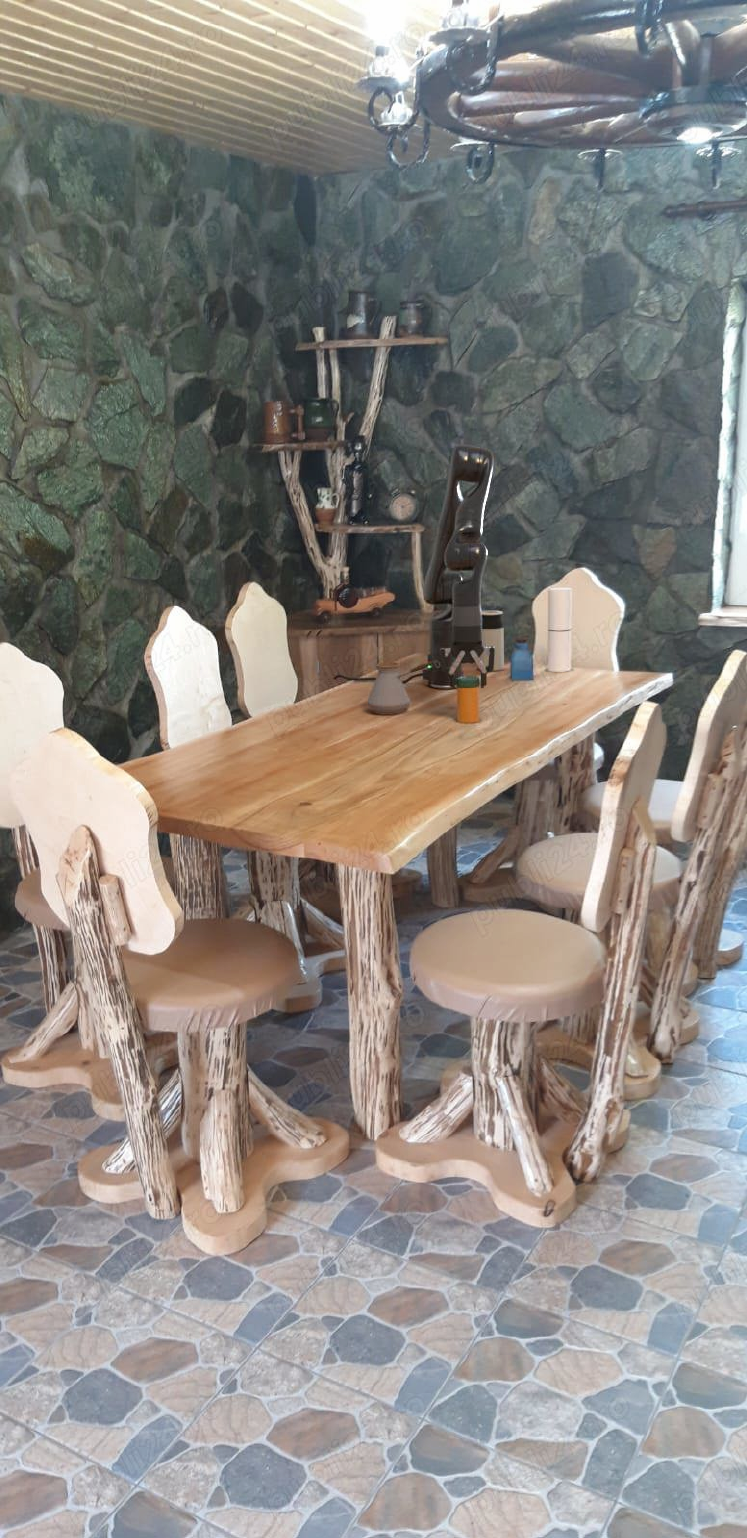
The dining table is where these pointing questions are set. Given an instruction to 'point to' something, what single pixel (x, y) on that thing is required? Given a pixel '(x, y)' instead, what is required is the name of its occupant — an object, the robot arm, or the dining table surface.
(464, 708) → the honey jar
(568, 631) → the cylindrical container
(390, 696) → the coffee pot
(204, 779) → the dining table surface
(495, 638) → the travel mug
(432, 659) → the robot arm
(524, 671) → the perfume bottle
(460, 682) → the honey lid
